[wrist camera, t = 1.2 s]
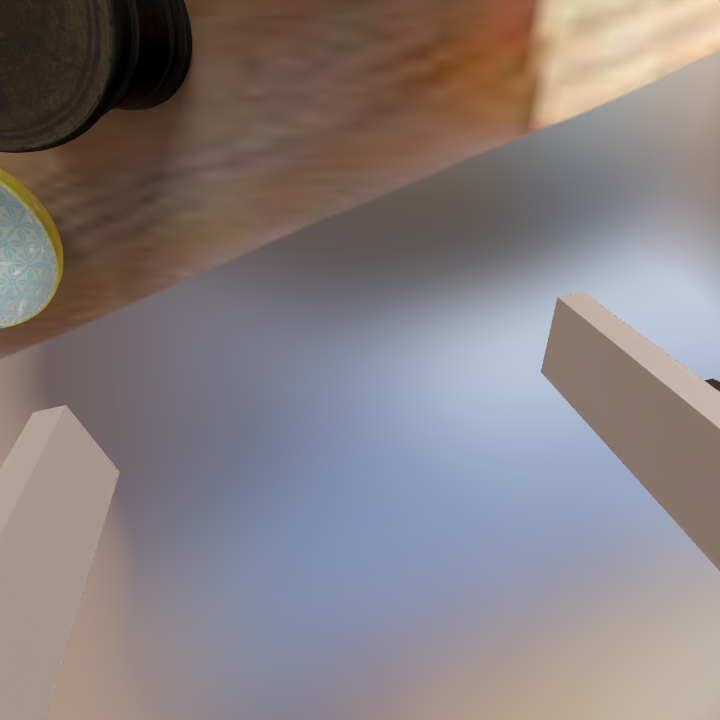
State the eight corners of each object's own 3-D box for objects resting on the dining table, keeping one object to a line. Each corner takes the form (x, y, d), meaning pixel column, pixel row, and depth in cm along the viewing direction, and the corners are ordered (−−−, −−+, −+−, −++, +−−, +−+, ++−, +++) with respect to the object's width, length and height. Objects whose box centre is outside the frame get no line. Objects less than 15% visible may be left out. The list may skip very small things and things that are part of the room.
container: (-21, -22, 22) (-481, -158, 8) (105, -131, 21) (-177, -508, 7) (116, 137, 28) (-19, 220, 14) (223, 59, 27) (196, 61, 12)
